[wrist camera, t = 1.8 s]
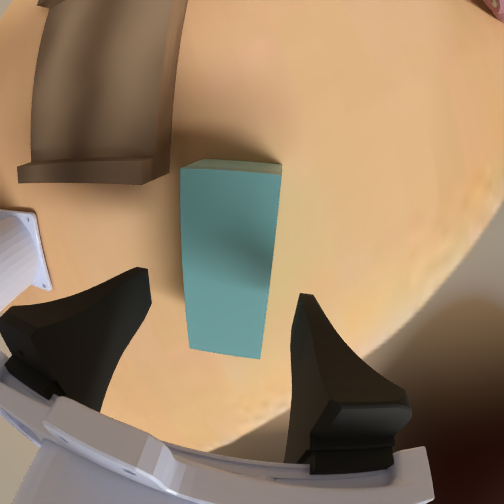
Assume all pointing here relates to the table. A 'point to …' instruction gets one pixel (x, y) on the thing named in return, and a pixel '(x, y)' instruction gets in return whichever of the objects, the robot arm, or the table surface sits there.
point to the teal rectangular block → (228, 252)
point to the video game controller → (496, 8)
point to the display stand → (104, 91)
